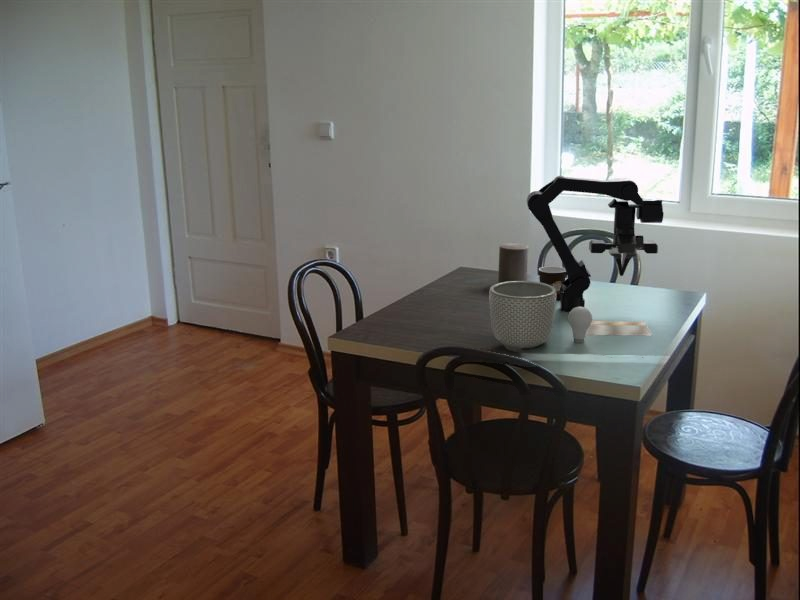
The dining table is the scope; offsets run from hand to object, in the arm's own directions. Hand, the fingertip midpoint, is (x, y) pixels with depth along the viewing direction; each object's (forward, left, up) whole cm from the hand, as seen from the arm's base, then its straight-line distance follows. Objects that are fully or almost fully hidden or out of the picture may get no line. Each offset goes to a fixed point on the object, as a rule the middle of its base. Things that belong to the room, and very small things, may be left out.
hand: (621, 275), depth 240 cm
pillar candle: (-30, +33, -12) cm, 46 cm away
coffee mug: (-17, +15, -12) cm, 26 cm away
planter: (-30, -31, -12) cm, 45 cm away
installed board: (-5, -20, -12) cm, 23 cm away
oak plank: (-5, -10, -12) cm, 17 cm away
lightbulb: (-15, -30, -12) cm, 36 cm away
